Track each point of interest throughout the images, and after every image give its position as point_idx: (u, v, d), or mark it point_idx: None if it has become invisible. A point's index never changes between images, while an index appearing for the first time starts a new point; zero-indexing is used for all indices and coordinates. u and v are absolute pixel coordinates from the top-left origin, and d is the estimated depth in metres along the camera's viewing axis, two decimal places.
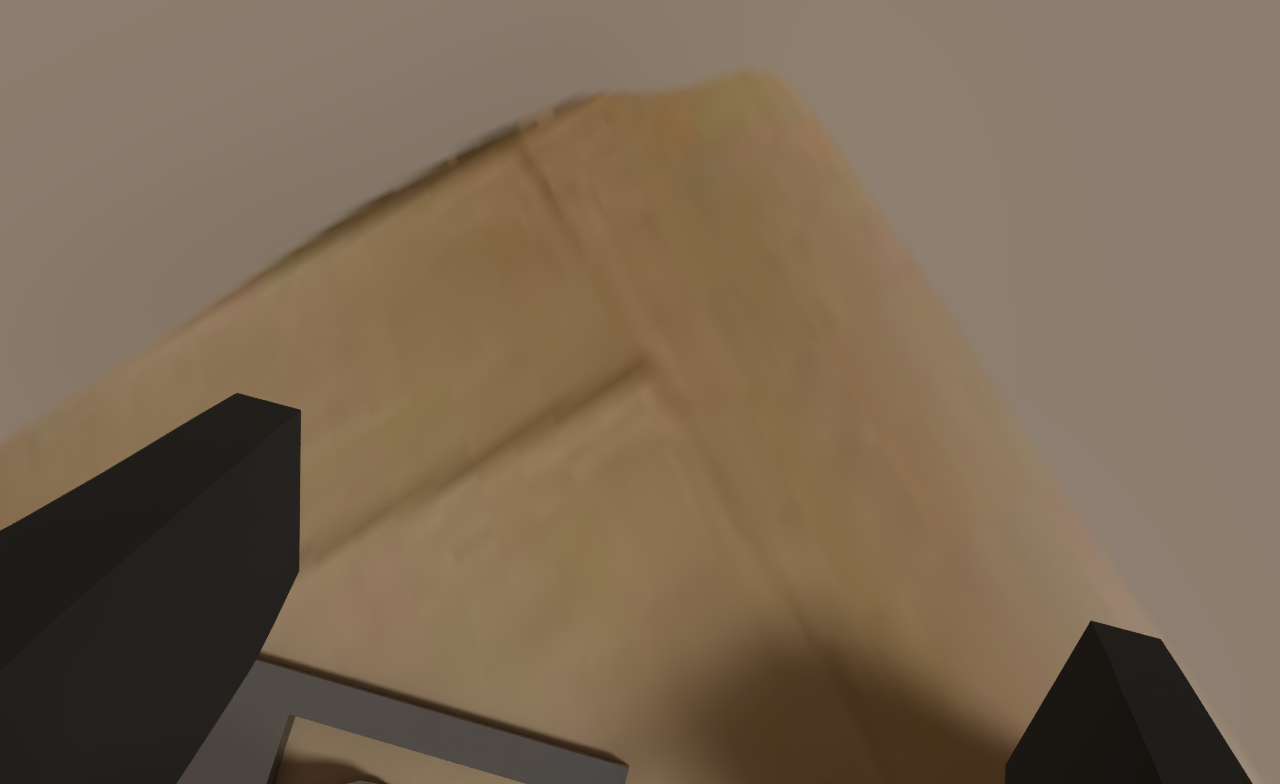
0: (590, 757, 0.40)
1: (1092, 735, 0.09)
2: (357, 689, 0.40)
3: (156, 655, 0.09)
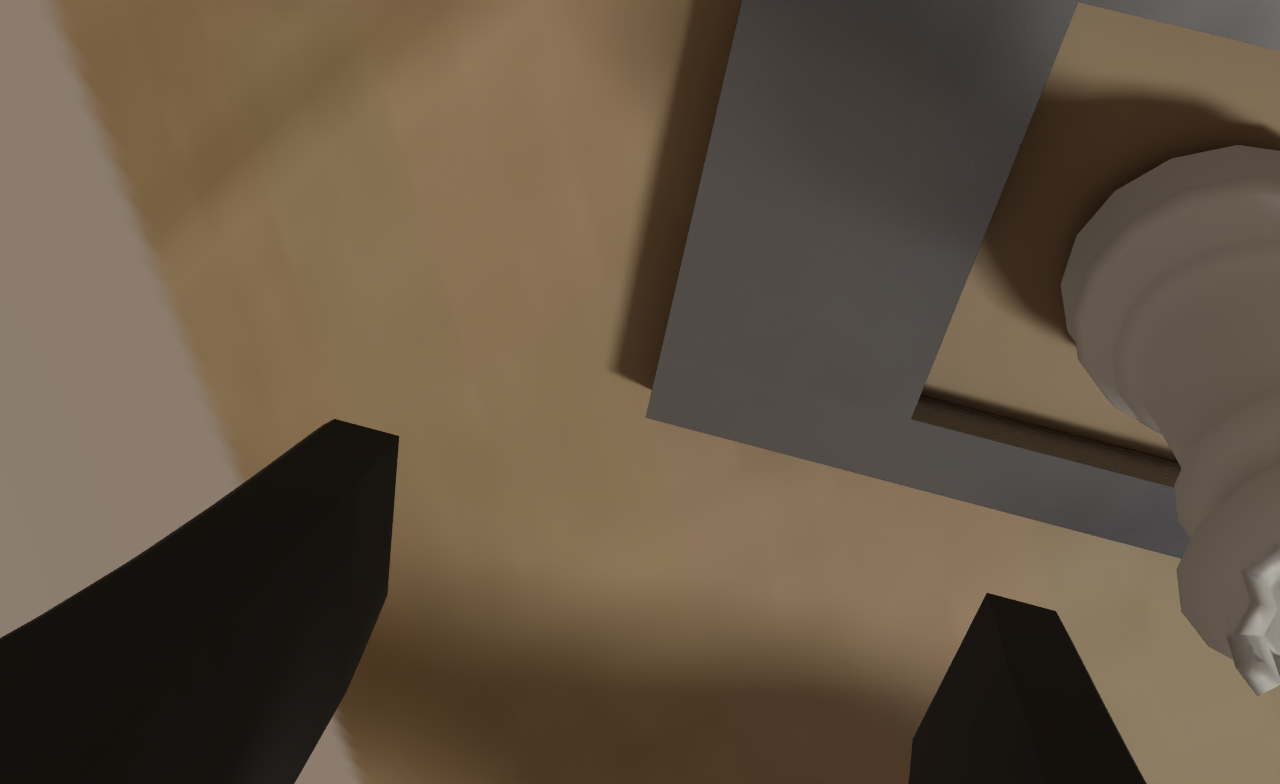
0: None
1: (981, 705, 0.09)
2: None
3: (268, 688, 0.09)
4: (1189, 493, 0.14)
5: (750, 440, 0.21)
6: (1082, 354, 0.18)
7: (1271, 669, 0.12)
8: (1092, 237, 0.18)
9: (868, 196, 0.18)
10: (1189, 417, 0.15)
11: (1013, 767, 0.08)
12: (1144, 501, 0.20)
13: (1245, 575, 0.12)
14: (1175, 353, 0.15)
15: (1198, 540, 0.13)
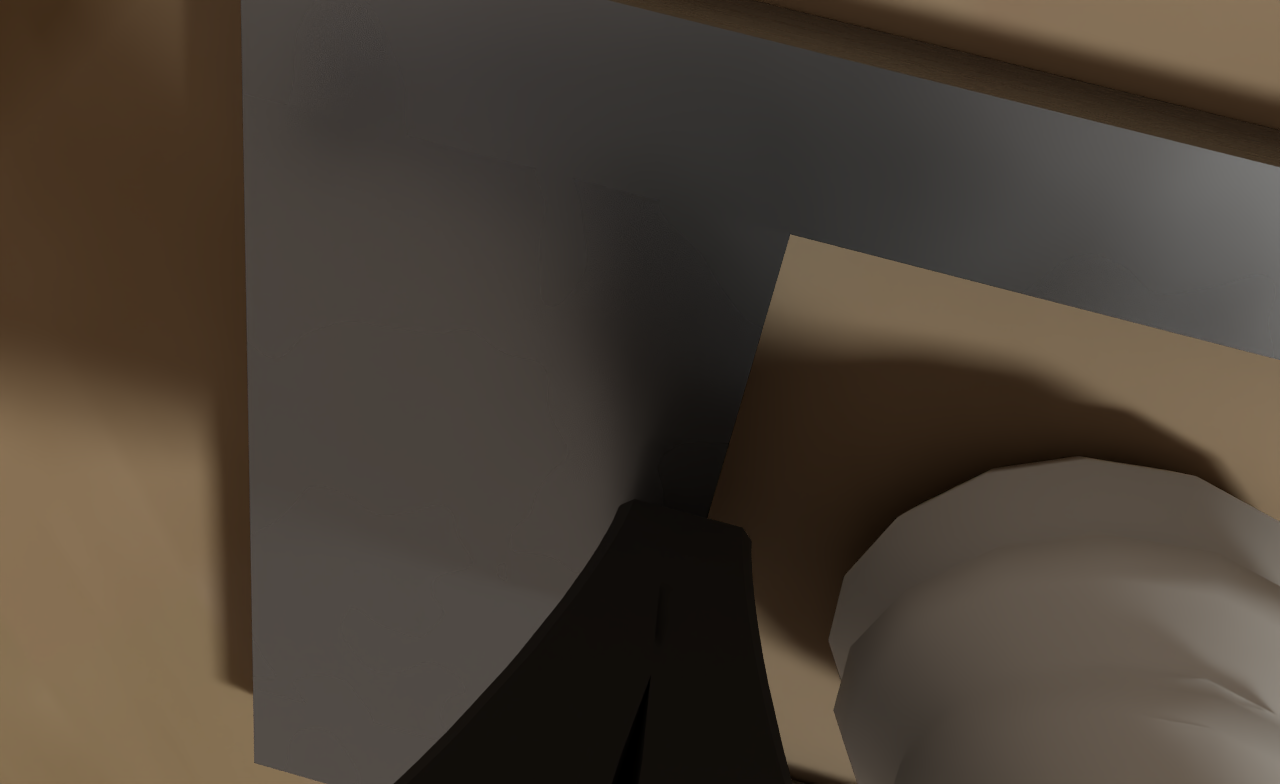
0: None
1: None
2: (1122, 126, 0.08)
3: None
4: None
5: None
6: (855, 773, 0.11)
7: None
8: (867, 584, 0.11)
9: (505, 504, 0.11)
10: None
11: None
12: None
13: None
14: None
15: None
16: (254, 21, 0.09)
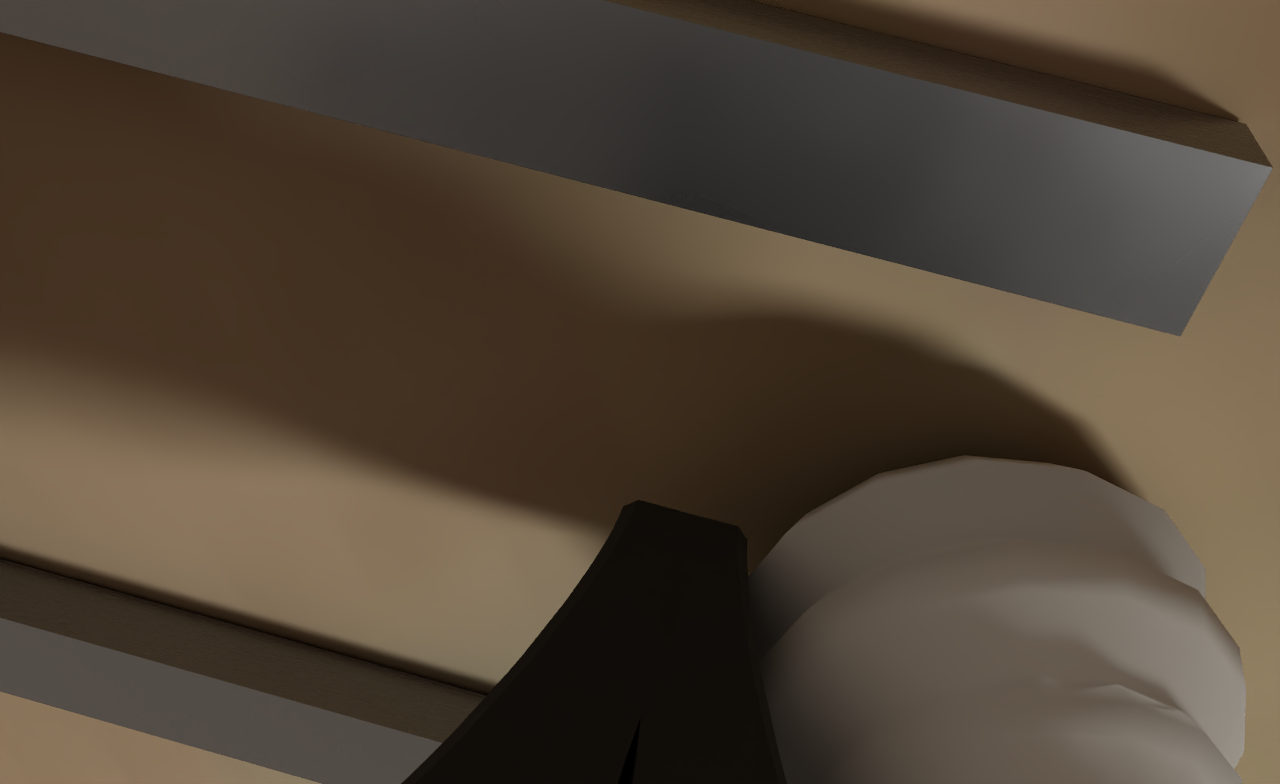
0: (1081, 121, 0.08)
1: None
2: None
3: None
4: None
5: None
6: None
7: None
8: (756, 603, 0.10)
9: None
10: None
11: None
12: (253, 713, 0.14)
13: None
14: None
15: None
16: None
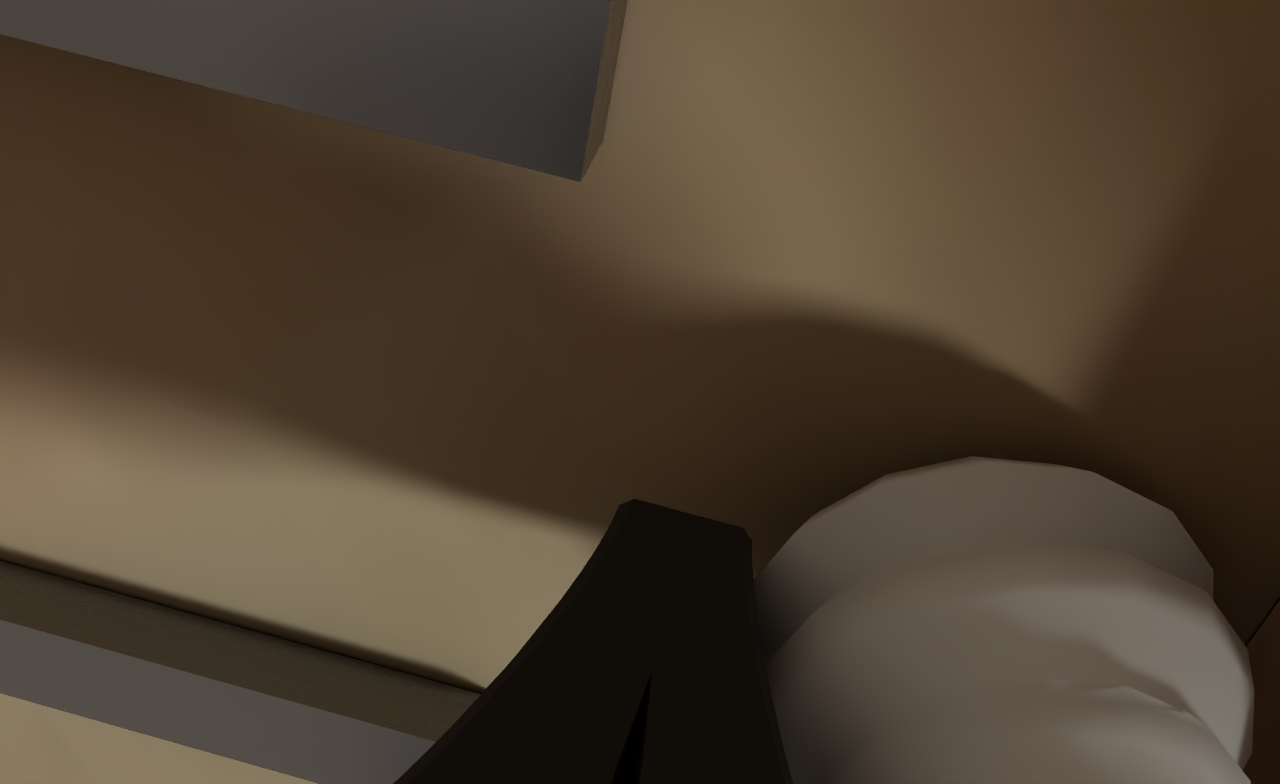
0: None
1: None
2: None
3: None
4: None
5: None
6: None
7: None
8: (763, 604, 0.10)
9: None
10: None
11: None
12: None
13: None
14: None
15: None
16: None
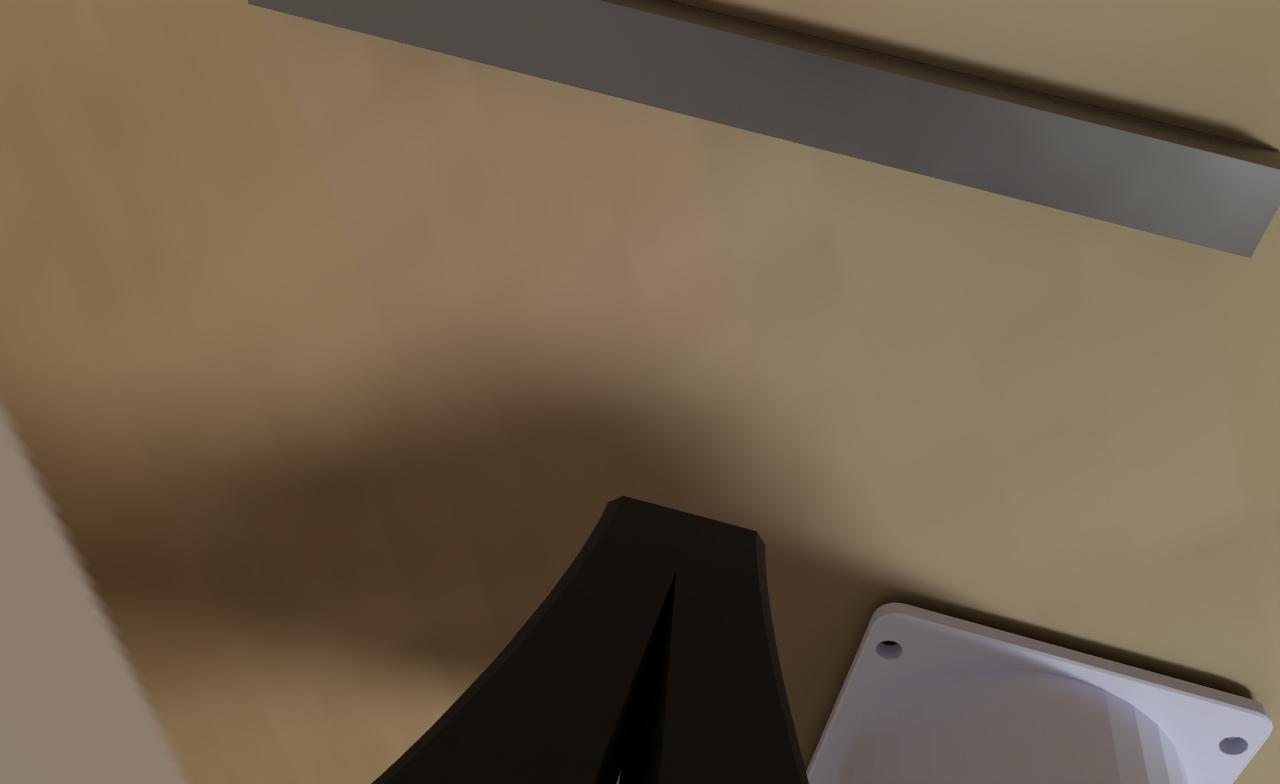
0: None
1: (663, 619, 0.09)
2: None
3: (605, 782, 0.09)
4: None
5: (362, 26, 0.19)
6: None
7: None
8: None
9: None
10: None
11: (662, 671, 0.09)
12: (790, 76, 0.18)
13: None
14: None
15: None
16: None
